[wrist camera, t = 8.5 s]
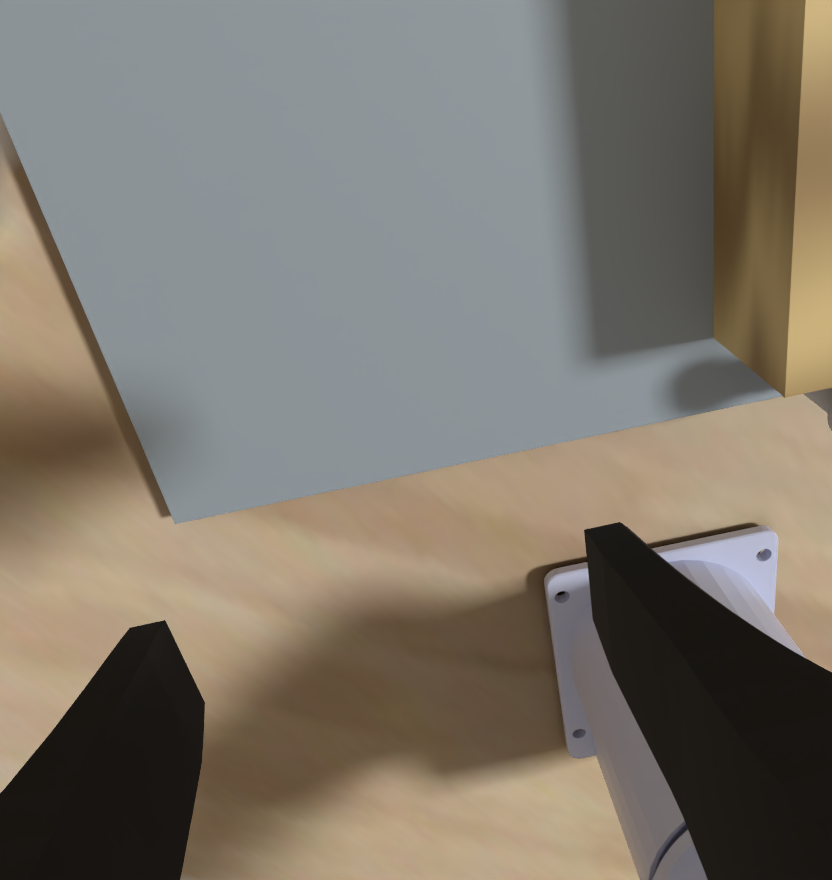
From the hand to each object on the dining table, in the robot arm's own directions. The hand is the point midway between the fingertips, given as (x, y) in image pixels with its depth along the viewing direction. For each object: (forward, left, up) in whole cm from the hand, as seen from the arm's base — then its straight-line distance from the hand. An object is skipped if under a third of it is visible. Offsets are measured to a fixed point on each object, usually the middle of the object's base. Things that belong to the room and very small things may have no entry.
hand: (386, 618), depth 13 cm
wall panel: (+5, -6, -10) cm, 13 cm away
